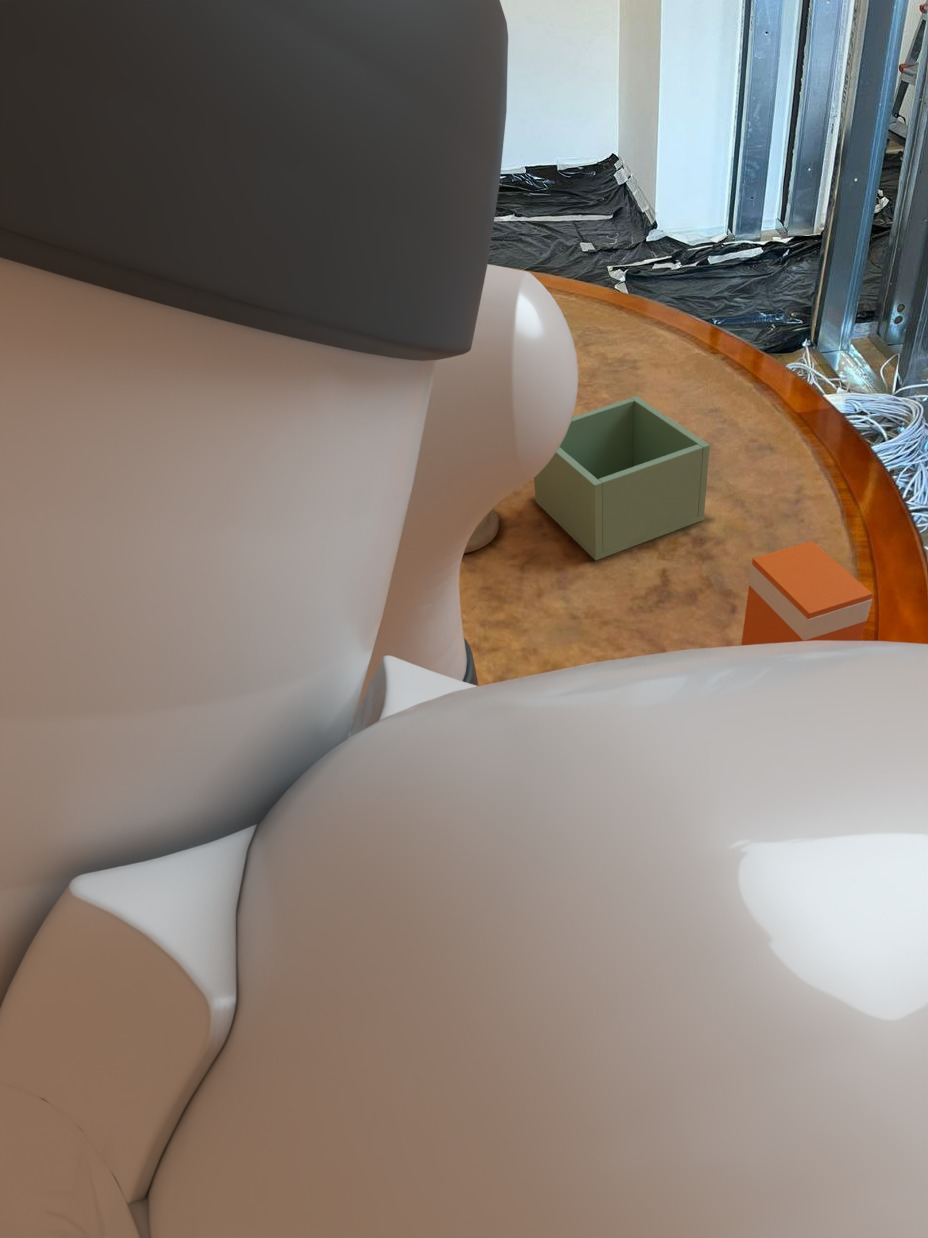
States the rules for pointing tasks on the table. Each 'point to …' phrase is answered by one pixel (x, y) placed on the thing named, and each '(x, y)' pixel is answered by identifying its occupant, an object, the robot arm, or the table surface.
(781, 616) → the packet
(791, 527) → the table surface
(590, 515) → the open storage bin
